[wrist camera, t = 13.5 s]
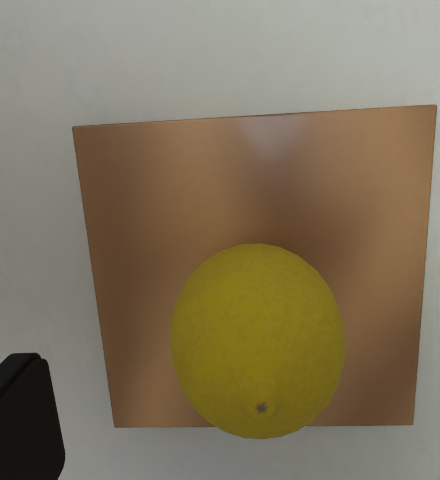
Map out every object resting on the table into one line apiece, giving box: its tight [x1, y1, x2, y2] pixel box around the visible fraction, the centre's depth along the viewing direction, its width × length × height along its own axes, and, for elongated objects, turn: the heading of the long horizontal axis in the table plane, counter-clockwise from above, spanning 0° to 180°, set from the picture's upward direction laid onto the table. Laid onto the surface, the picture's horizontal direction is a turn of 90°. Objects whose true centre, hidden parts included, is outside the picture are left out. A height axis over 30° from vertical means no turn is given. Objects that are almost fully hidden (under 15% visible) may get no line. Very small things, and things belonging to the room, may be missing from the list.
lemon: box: [170, 243, 345, 439], centre depth 13 cm, size 6×6×8 cm
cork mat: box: [72, 105, 437, 428], centre depth 18 cm, size 14×14×1 cm
